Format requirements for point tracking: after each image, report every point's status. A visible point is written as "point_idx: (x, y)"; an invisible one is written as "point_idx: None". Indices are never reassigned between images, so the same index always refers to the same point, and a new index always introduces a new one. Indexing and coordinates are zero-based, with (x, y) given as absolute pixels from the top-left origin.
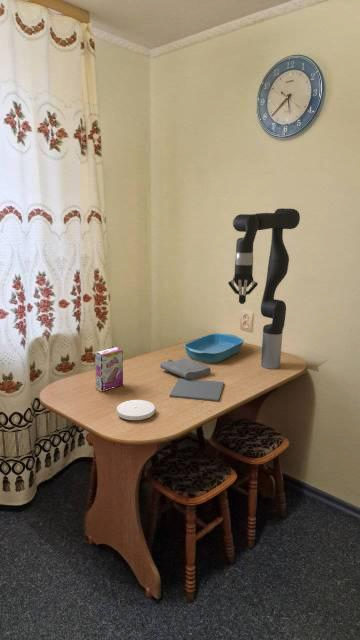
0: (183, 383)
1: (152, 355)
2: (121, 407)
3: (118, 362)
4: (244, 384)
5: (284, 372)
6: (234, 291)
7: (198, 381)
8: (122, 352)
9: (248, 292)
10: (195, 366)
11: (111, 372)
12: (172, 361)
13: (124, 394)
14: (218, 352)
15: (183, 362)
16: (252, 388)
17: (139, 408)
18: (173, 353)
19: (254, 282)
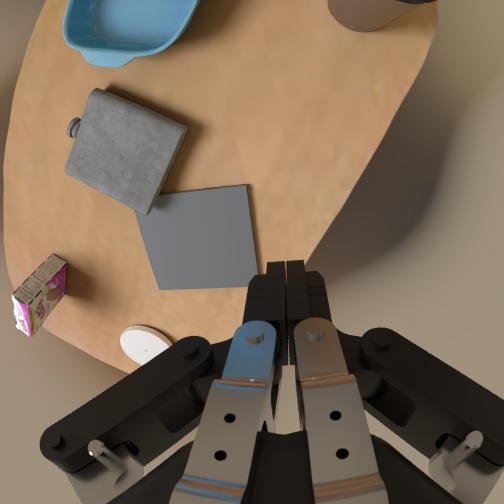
0: (155, 228)
1: (25, 78)
2: (129, 351)
3: (41, 299)
4: (303, 171)
5: (403, 52)
6: (185, 403)
7: (182, 204)
8: (31, 303)
9: (366, 399)
10: (142, 140)
11: (50, 300)
12: (77, 135)
13: (93, 294)
14: (177, 34)
15: (102, 126)
16: (327, 192)
17: (152, 351)
18: (56, 33)
19: (469, 488)
